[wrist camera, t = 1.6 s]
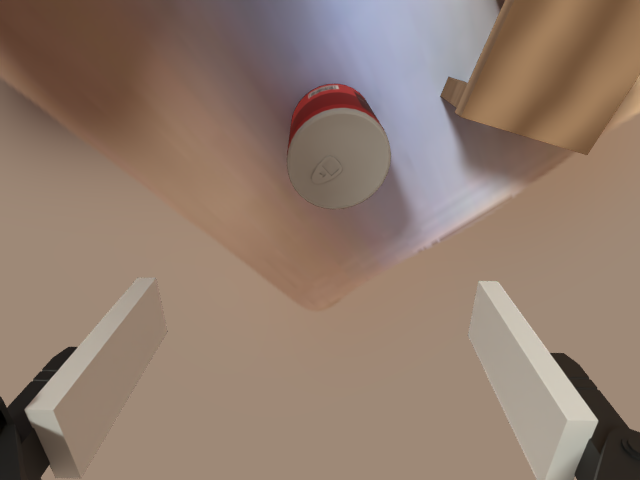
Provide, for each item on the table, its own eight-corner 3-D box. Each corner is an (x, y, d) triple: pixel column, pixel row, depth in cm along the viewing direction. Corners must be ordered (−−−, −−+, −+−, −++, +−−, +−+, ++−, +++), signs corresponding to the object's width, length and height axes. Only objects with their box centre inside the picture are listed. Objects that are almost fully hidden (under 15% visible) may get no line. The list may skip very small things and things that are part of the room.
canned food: (276, 136, 39) (267, 180, 30) (320, 63, 36) (326, 86, 26) (339, 175, 42) (349, 227, 32) (386, 110, 38) (413, 146, 29)
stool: (436, 98, 38) (460, 117, 32) (498, -51, 32) (543, -63, 26) (544, 131, 40) (587, 155, 34) (622, -3, 34) (690, -4, 28)
